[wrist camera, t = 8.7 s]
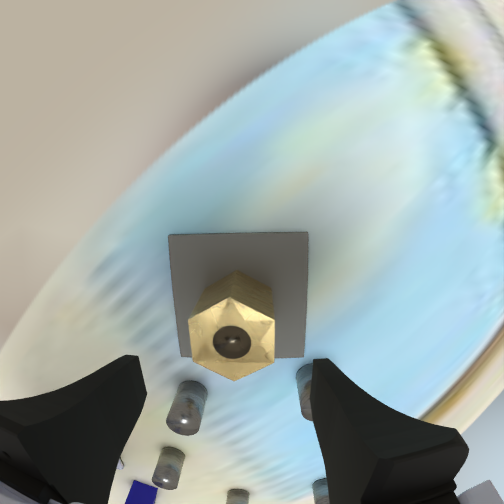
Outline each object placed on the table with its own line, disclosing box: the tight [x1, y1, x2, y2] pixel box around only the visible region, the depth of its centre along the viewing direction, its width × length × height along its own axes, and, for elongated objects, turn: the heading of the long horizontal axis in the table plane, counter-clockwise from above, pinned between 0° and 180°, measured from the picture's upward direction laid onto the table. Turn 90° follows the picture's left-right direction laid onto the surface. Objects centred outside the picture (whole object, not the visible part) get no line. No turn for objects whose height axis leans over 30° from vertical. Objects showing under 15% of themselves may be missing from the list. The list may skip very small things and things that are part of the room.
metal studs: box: [152, 364, 330, 504], centre depth 22 cm, size 21×20×4 cm
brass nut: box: [188, 270, 275, 381], centre depth 18 cm, size 4×5×5 cm
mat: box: [168, 232, 308, 358], centre depth 20 cm, size 9×9×1 cm
